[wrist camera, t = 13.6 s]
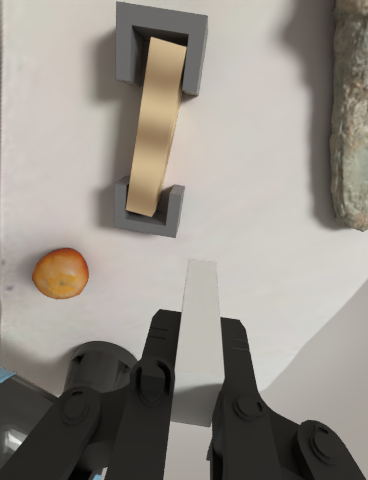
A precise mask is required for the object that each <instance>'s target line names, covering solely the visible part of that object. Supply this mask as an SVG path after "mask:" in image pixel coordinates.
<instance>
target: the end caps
mask: <svg viewBox="0 0 368 480" xmlns="http://www.w3.org/2000/svg"><path fill="white" fill-rule="evenodd" d="M207 35H208V16H206V15H200V14H194V13H187V12H181V11H175V10H168V9H162V8H155V7H149V6H143V5H136V4H130V3H123V2H117V1H116V76H115V79H117V80H119V81H121V82H124V83H126V84H128V85H133V86H140V87H141V74H142V55H143V39H144V40H150V39H151V37H153V38H157V39H160V40H164V41H167V42H170V43H174V44H177V45H182V46H187V54H186V63H185V71H184V79H183V87H182V90H183V91H184V92H185V93H186V94H189V95H195V96H198V95H199V89H200V82H201V75H202V68H203V62H204V55H205V48H206V42H207ZM129 184H130V177H127V176H125V177H124V178H122V179H121V180H119V181H118V182H116V183H115V184H114V227H115V228H121V229H126V230H132V231H138V232H143V233H149V234H155V235H161V236H166V237H172V238H176V234H177V231H178V227H179V223H180V216H181V209H182V203H183V196H184V189H185V186H180V185H174V186H173V188H172V190H171V192H170V195H169V203H168V211H167V214H166V213H161V212H154V214H153V216H152V217H150V216H147V215H143V214H139V213H136V212H132V211H128V210H126V204H127V197H128V190H129Z"/></svg>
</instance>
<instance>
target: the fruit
mask: <svg viewBox="0 0 368 480" xmlns="http://www.w3.org/2000/svg"><path fill="white" fill-rule="evenodd" d="M88 278H89V273H88V267H87V264H86V262H85V260H84V258H83V256H82V255H81V254H80V253H79V252H77V251H76V250H74V249H71V248H62V249H58V250H55V251H52V252H51V253H49V254H47V255H46V256H44V257H43V258H42V259H41V260H40V261H39V262H38V263H37V265H36V267H35V269H34V272H33V275H32V279H33V282H34V284H35V285H36V287H37V288H38V290H39V291H40V292H41V293H42V294H44V295H46V296H47V297H50V298H54V299H68V298H71V297H74V296H76V295H79V294H80V293H81V292H82V290H83V288H84V287H85V286H86V284H87V282H88Z"/></svg>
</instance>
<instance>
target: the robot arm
mask: <svg viewBox="0 0 368 480" xmlns="http://www.w3.org/2000/svg"><path fill="white" fill-rule="evenodd" d="M249 350H250V349H249V344H248V339H247V334H246V329H245V328H244V326H243V325H242V323H241V322H240V320H237V319H230V318H223V317H220V308H219V295H218V281H217V268H216V262H210V261H202V260H195V259H189V261H188V268H187V275H186V283H185V290H184V297H183V305H182V312H176V311H169V310H162V309H159V310H158V312H157V313H156V314H155V315H154V316H153V318H152V321H151V325H150V329H149V332H148V336H147V339H146V343H145V347H144V350H143V354H142V358H141V359H140V360H139V361H137V359H136V358H135V357H134V356H133V355H132V354H131V353H130V352H128V351H127V350H125V349H124V348H122V347H120V346H118V345H115V344H112V343H107V342H89V343H86V344H83V345H81V346H80V347H79V348H78V349H77V350H76V351H75V353H74V355H73V357H72V358H71V360H70V363H69V367H68V372H67V377H66V381H65V386H64V390H63V393H62V395H61V396H60V397H59V398H58V397H56V396H54V395H52V394H51V393H49V392H47V391H45V390H44V389H42V388H40V387H38V386H36V385H35V384H33V383H31V382H29V381H28V380H26V379H24V378H22V377H21V376H19V375H17V373H16V372H12V371H10V370H7V369H5V368H3V367H1V366H0V480H101V477H102V476H101V474H102V471H103V468H106V467H108V468H107V472H106V476H105V479H104V480H163V476H164V468H165V460H166V459H165V458H166V450H167V442H168V433H169V425H170V421H173V422H179V423H185V424H192V425H198V426H204V427H210V426H211V423H212V435H213V436H212V439H211V443H210V446H209V449H208V453H207V459H206V460H208V461H210V480H366V478H365V477H364V476H363V474H362V472H361V470H360V469H359V467H358V465H357V464H356V462H355V461H354V459H353V457H352V456H351V454H350V452H349V451H348V449H347V448H346V446H345V444H344V443H343V442H342V440H341V439H340V438H339V437H338V435H337V434H336V433H335V432H334V431H332V430H331V429H330V428H329V427H327V426H326V425H324V424H322V423H320V422H318V421H314V420H307V421H305V422H302V423H301V425H299V424H297V423H294V422H293V421H291V420H289V419H286V418H285V417H283V416H281V415H279V414H277V413H276V412H274V411H273V410H271V408H269V407H268V406H267V405H266V403H265V402H264V401H263V400H262V398H261V396H260V394H259V392H258V389H257V385H256V380H255V375H254V370H253V365H252V360H251V354H250V352H249Z"/></svg>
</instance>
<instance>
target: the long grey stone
mask: <svg viewBox="0 0 368 480" xmlns="http://www.w3.org/2000/svg"><path fill="white" fill-rule="evenodd" d="M335 7H336V8H335V9H334V10H333V11H332V13H331V16H332V17H333V18H334V20H335V23H336V28H335V33H334V35H333V36H334V40H333V41H334V43H333V47H334V48H335V49H334V55H335V63H334V68H333V69H334V74H333V77H334V81H333V87H334V105H333V108H332V117H331V125H332V126H331V130H332V135H331V138H330V140H329V147H330V157H331V158H330V165H331V171H332V174H331V190H330V192H331V193H332V199H333V205H332V207H333V208H334V210H335V213H336V215H337V216H336V219H335V221H336V222H337V223H338V224H339V225H341V226H346V225H348V226H349V227H350V228H354V229H356V230H360V231H362V232H364V231H365V230H367V229H368V0H336V3H335Z"/></svg>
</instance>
